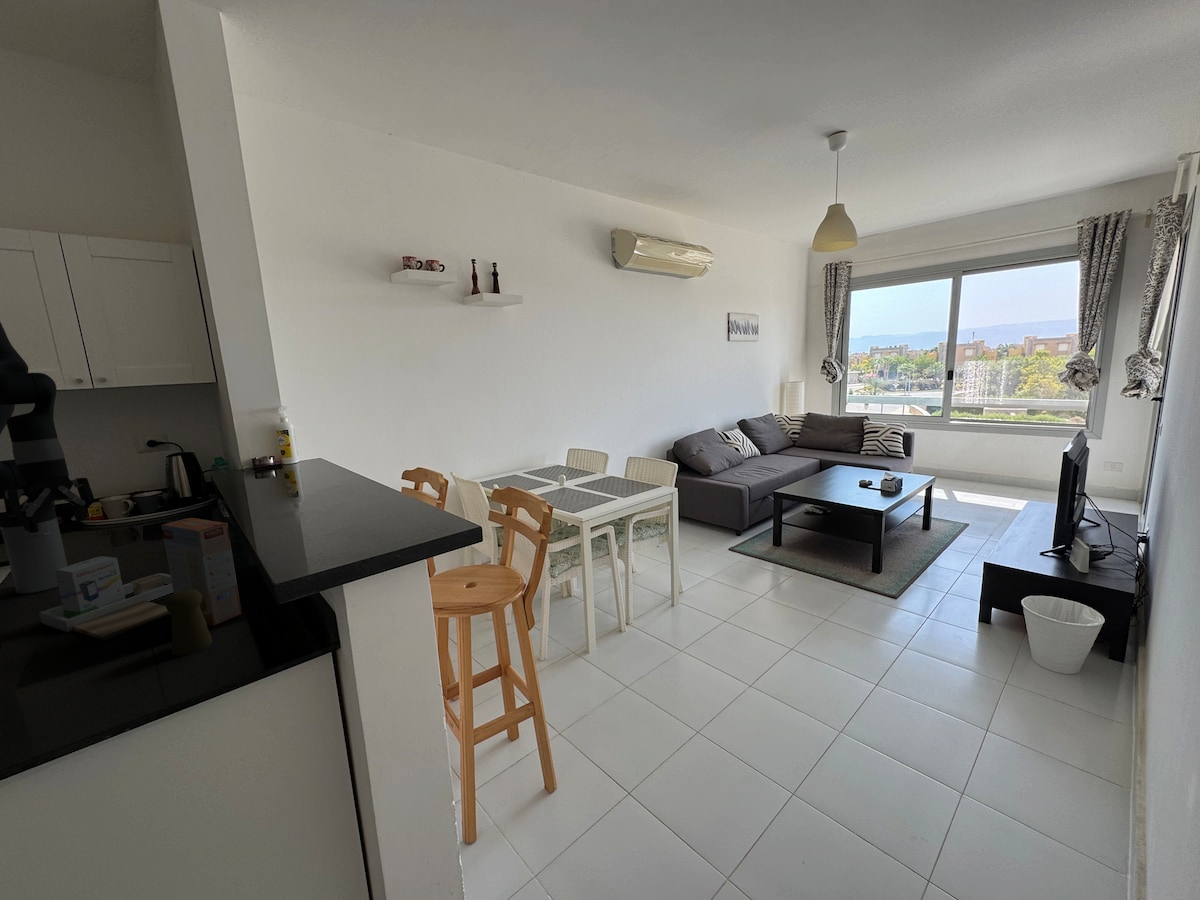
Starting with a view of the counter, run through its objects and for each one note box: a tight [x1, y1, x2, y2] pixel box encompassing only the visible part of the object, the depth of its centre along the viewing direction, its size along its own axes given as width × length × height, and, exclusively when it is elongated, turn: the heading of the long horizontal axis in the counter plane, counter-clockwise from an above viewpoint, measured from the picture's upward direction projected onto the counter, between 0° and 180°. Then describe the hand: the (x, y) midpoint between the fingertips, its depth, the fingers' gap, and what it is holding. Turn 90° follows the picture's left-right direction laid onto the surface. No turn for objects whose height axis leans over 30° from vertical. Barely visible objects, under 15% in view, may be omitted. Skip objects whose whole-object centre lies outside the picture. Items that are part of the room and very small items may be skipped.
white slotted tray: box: [38, 572, 173, 633], centre depth 111 cm, size 12×22×2 cm, turn 157°
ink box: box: [55, 555, 126, 619], centre depth 107 cm, size 9×5×12 cm, turn 168°
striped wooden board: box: [73, 601, 170, 639], centre depth 103 cm, size 12×12×1 cm
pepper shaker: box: [165, 590, 213, 657], centre depth 91 cm, size 6×6×11 cm
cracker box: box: [160, 517, 243, 627], centre depth 103 cm, size 14×6×21 cm, turn 65°
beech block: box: [131, 574, 164, 596], centre depth 116 cm, size 4×4×4 cm
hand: (58, 526), depth 114 cm, fingers open, 8 cm apart
